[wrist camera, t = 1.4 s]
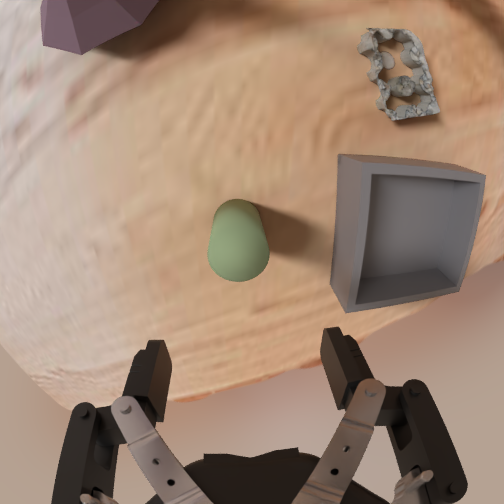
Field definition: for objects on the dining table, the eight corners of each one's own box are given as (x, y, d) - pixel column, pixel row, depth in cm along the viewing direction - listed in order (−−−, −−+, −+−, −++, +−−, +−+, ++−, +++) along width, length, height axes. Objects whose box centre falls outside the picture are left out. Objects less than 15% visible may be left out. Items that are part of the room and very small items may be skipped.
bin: (337, 154, 27) (362, 162, 21) (455, 164, 27) (485, 175, 22) (329, 284, 34) (345, 313, 28) (436, 270, 34) (458, 291, 29)
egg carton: (349, 33, 21) (364, 22, 17) (402, 34, 20) (421, 27, 17) (374, 121, 25) (394, 121, 22) (424, 115, 25) (445, 116, 21)
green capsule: (211, 200, 28) (204, 228, 21) (259, 197, 28) (268, 223, 21) (216, 244, 30) (211, 283, 23) (261, 241, 31) (270, 279, 23)
